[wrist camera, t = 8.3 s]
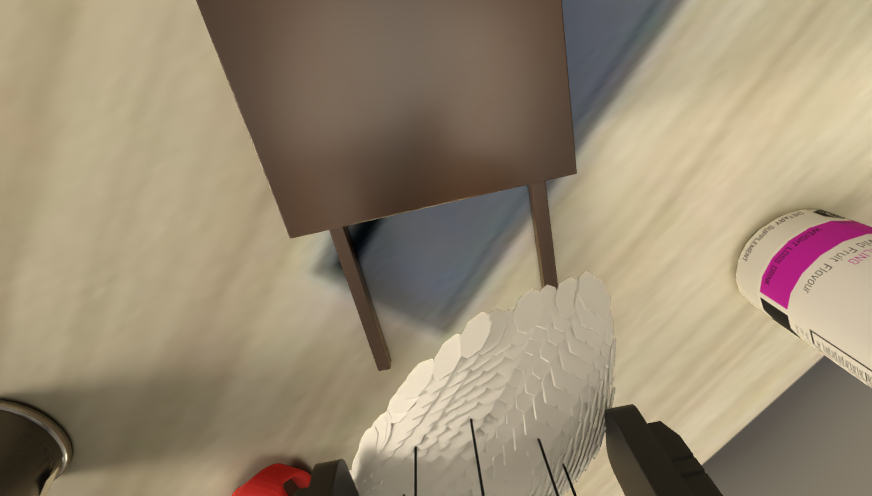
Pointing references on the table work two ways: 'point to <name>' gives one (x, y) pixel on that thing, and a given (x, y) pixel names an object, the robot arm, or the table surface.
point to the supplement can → (815, 283)
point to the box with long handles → (398, 110)
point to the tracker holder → (273, 481)
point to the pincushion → (501, 403)
